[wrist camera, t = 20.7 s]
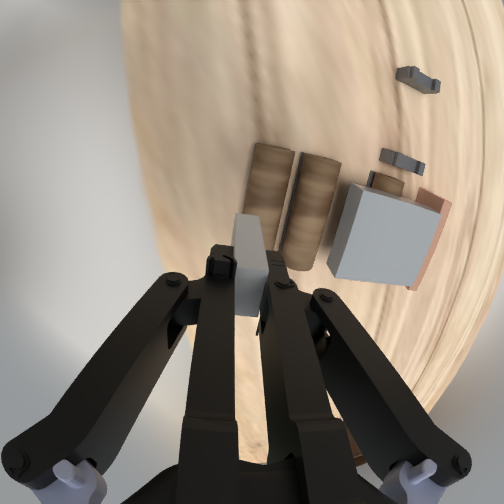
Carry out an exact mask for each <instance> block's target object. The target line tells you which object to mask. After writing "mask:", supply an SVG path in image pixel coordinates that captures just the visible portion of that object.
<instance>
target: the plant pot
mask: <svg viewBox="0 0 504 504" xmlns="http://www.w3.org/2000/svg"><path fill="white" fill-rule="evenodd" d="M344 424H345V422H344ZM345 427H346V430H347V434H348V437H349V441H350V445H351V449H352V453H353V457H354V461H355V466H356V467H357V466H360V465H363V464H365V463H367V461H366V460H365V458H364V456H363V455H362V453H361V451H360V449H359V447H358V446H357V444H356V442H355V440H354V438H353V436H352V435H351V433H350V431H349V429H348V427H347V426H346V424H345Z"/></svg>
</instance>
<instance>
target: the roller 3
mask: <svg viewBox="0 0 504 504" xmlns="http://www.w3.org/2000/svg"><path fill="white" fill-rule="evenodd" d="M403 187H404V182H402V181H400V180H397V179H395V178H392V177H390V176H387V175H384V174H381V173H377V172H375V176H374V180H373V183H372V187H371V188H373V189H377V190H380V191H383V192H387V193H390V194H393V195H397V196H400V197H401V193H402V190H403Z"/></svg>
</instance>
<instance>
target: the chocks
mask: <svg viewBox="0 0 504 504" xmlns="http://www.w3.org/2000/svg"><path fill="white" fill-rule="evenodd" d="M256 144H259V143H256ZM289 150H290V149H289ZM303 157H304V152H302V153H301V157H300V162H299V166H298V171H297V175H296V180H295V184H294V189H293V193H292V197H291V202H290V206H289V210H288V214H287V219H286V223H285V227H284V231H283V235H282V239H281V243H280V248H279V253H280V254H281V250H282V246H283V242H284V238H285V234H286V230H287V226H288V222H289V218H290V214H291V209H292V205H293V201H294V197H295V192H296V188H297V184H298V179H299V175H300V171H301V166H302V162H303ZM373 175H374V171H370V175H369V178H368V182H367V186H366V187H370V186H371V183H372V179H373ZM395 179H396V178H395Z"/></svg>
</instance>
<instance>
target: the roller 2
mask: <svg viewBox="0 0 504 504" xmlns="http://www.w3.org/2000/svg"><path fill="white" fill-rule="evenodd" d="M341 164H342V163H340V162H338V161H335V160H332V159H328V158H325V157H321V156H317V155H312V154H307V153H304V157H303V162H302V166H301V171H300V175H299V179H298V184H297V188H296V192H295V197H294V201H293V205H292V209H291V214H290V218H289V222H288V226H287V230H286V234H285V238H284V242H283V246H282V250H281V255H282V256H283V258H284V261H285V265H286V267H288V268H290V269H293V270H297V271H308V270H311V269H312V267H313V264H314V260H315V257H316V254H317V251H318V247H319V244H320V241H321V237H322V234H323V231H324V227H325V224H326V220H327V217H328V213H329V210H330V206H331V202H332V199H333V195H334V191H335V187H336V184H337V180H338V176H339V172H340V168H341Z"/></svg>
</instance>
